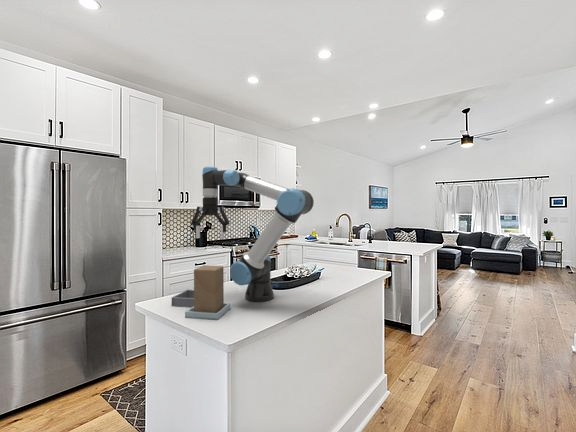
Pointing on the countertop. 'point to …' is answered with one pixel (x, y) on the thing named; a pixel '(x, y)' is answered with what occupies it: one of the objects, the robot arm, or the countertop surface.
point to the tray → (205, 315)
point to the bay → (184, 299)
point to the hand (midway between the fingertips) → (210, 238)
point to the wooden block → (208, 289)
